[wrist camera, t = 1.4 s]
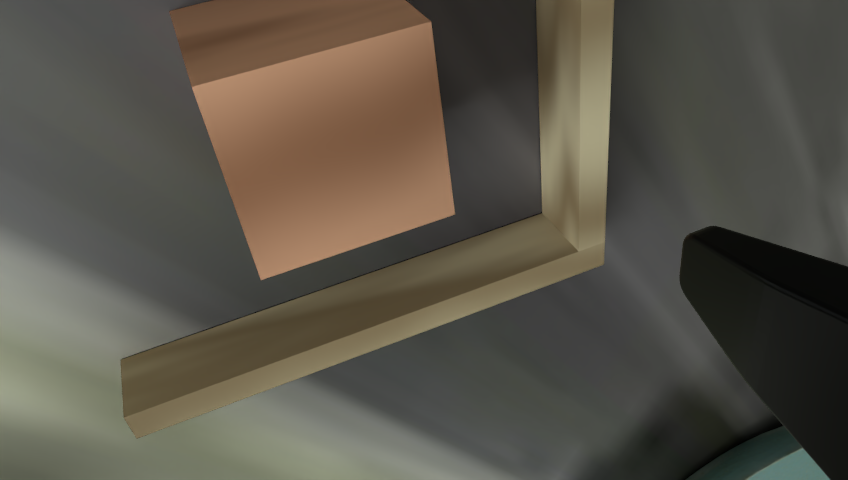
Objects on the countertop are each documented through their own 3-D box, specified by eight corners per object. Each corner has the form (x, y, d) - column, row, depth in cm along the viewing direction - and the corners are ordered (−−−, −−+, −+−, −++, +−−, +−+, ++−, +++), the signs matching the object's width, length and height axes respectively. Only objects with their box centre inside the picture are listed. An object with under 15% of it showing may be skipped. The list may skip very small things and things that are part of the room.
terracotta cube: (390, 130, 22) (454, 214, 18) (228, 179, 21) (261, 279, 17) (360, -38, 19) (431, 21, 15) (169, 10, 18) (191, 86, 14)
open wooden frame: (566, 226, 26) (604, 264, 25) (132, 380, 23) (136, 438, 21) (564, -369, 16) (629, -383, 14) (-229, -247, 13) (-285, -244, 11)
